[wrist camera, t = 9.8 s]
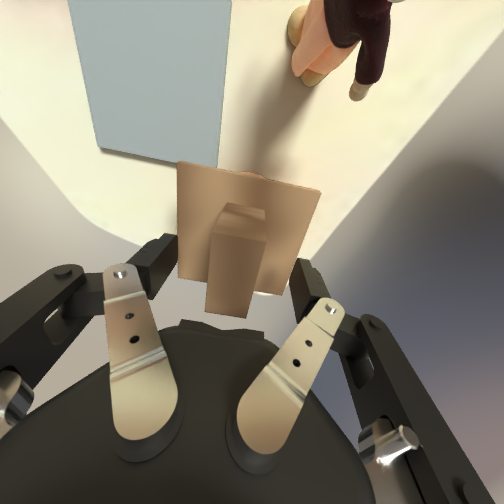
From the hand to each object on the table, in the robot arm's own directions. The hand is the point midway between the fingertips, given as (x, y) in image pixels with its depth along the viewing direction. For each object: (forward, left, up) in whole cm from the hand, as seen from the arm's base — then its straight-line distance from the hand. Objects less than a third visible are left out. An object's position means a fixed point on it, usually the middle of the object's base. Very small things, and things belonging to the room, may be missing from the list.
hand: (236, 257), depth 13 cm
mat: (-9, +9, -10) cm, 16 cm away
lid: (0, 0, -4) cm, 4 cm away
